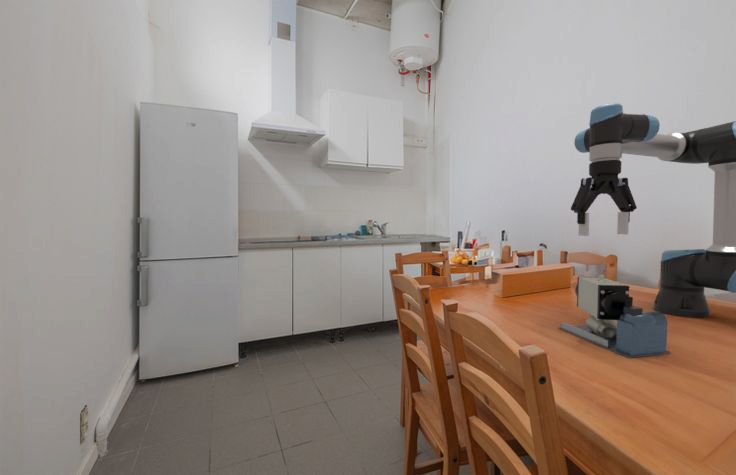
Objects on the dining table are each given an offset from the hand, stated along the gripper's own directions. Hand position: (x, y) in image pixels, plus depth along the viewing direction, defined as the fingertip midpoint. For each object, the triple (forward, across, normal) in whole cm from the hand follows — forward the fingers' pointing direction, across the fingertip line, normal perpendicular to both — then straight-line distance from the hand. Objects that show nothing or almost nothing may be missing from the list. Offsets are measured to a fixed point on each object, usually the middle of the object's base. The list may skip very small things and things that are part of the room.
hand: (603, 235), depth 95 cm
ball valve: (+30, 0, 0) cm, 30 cm away
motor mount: (+30, 0, +3) cm, 30 cm away
